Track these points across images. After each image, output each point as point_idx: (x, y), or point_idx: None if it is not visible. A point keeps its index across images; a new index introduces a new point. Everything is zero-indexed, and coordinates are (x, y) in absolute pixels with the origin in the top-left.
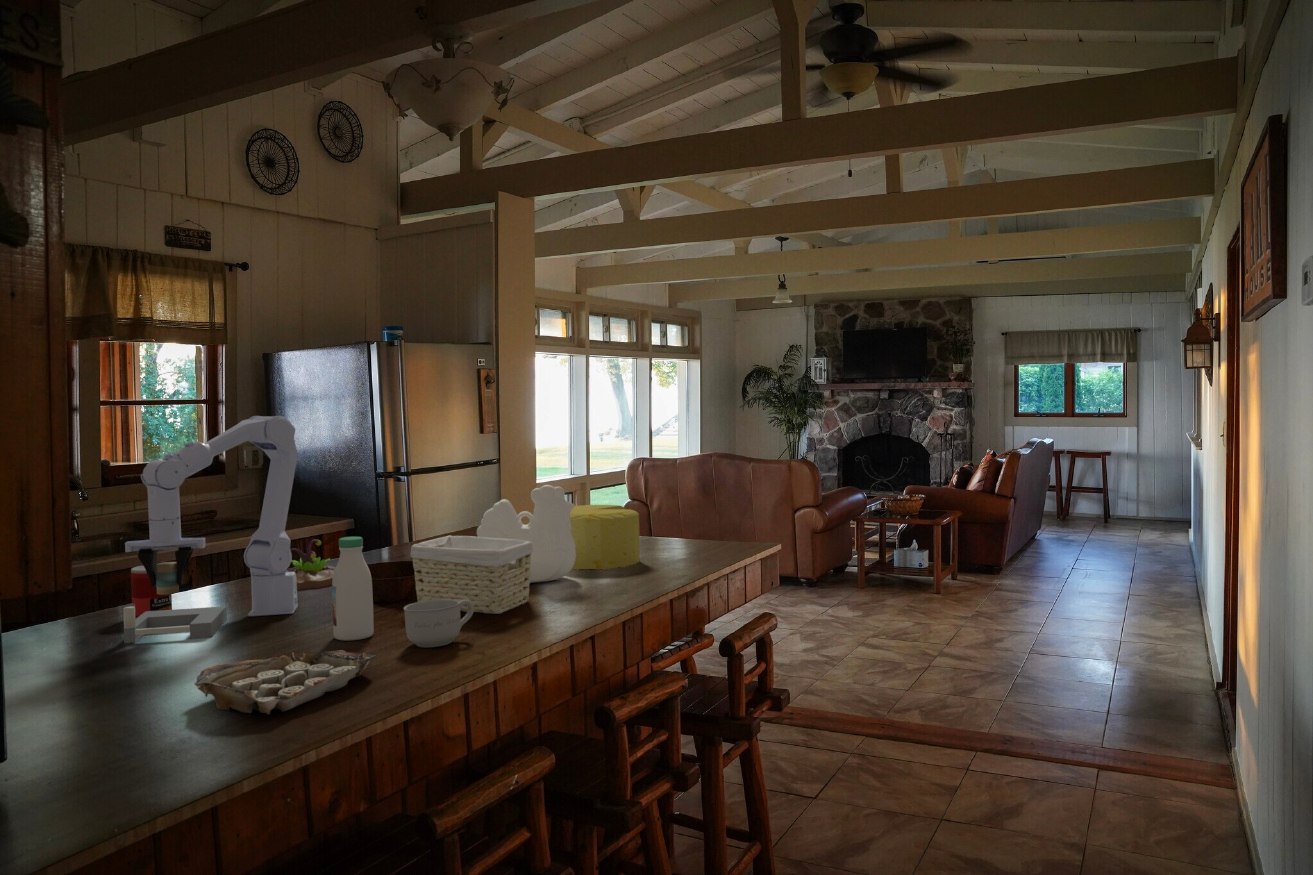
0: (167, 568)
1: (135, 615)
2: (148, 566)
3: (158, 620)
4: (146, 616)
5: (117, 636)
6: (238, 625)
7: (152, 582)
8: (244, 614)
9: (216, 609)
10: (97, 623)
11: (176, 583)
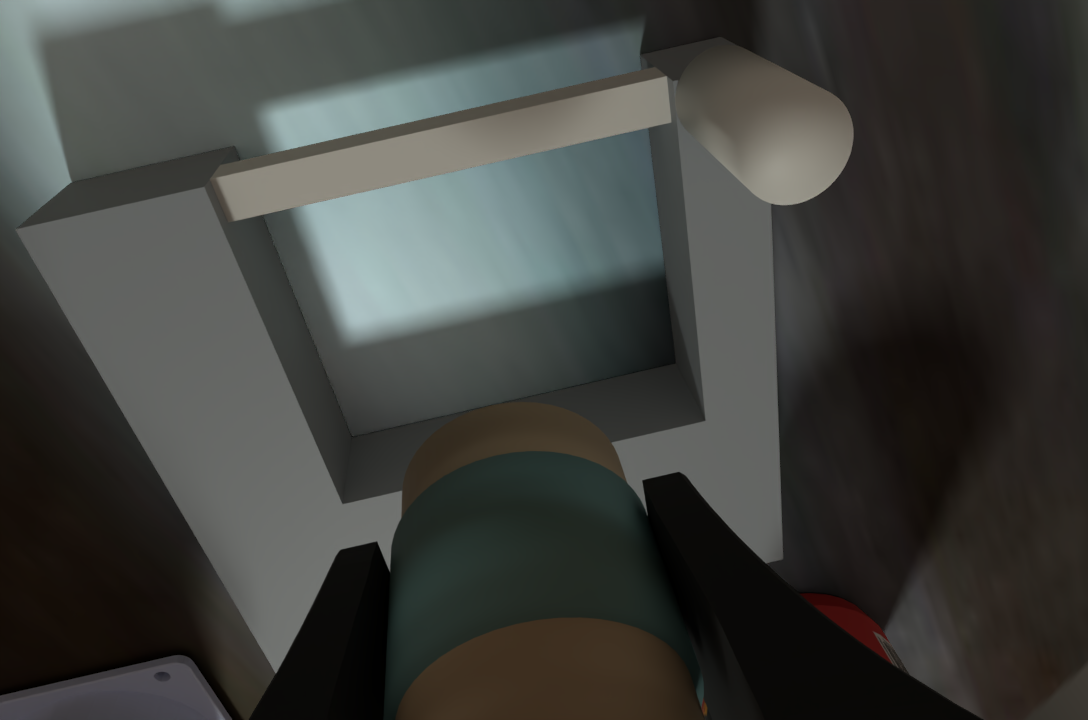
0: (474, 691)
1: (862, 614)
2: (798, 665)
3: (626, 420)
4: (723, 440)
5: (840, 254)
6: (109, 491)
7: (674, 498)
8: (260, 696)
9: (292, 606)
10: (1035, 531)
11: (394, 558)
